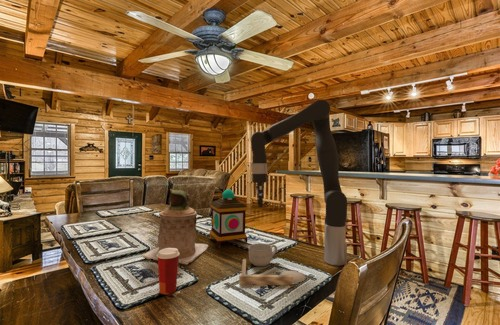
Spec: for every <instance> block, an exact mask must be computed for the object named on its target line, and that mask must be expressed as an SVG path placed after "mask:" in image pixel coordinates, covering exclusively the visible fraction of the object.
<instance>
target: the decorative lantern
mask: <svg viewBox="0 0 500 325" xmlns="http://www.w3.org/2000/svg"><path fill="white" fill-rule="evenodd" d="M209 205H210V208H211V220H210V223H211V229H210V231H209V234H208V237H209V239H210V240H211V239H214V240H215V241H216V244H217V247H218V248H220V247H221V243H226V242H231V241H232V242H233V241H241V240H244V241H243V242H244V244H245V243H246V244H247V243H248V235H247V234H246V211H247V209H248V206H247V205H246V204H245V203H244V202H241V201H240V200H239V199H237V197H235V192H234V191H233V190H232V189H231V188H227V189H225V190H224V191H223V192H222V196H220V198H218V199H217V200H214V201H212V202H211V203H210V204H209Z"/></svg>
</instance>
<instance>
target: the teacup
mask: <svg viewBox="0 0 500 325" xmlns="http://www.w3.org/2000/svg"><path fill="white" fill-rule="evenodd" d="M247 247H248V259H249V262H250V263H251V264H252V265H253V266H255V267H265V266H268V265H269V264H270V263H271V262H272V259H273V256H274V255H275V254H276V253H277V252H278V247H277V245H275V244H268V243H262V242H261V243H253V244H250V245H248V246H247ZM273 248H274V249H273Z"/></svg>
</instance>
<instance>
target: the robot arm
mask: <svg viewBox="0 0 500 325" xmlns="http://www.w3.org/2000/svg"><path fill="white" fill-rule="evenodd" d="M330 112H331V104H330V102H328V101H327V100H325V99H316V100H314V101H313V102H312V103H310V104H309V105H308V106H307V107H305V108H304V109H302V110H300V111H299V112H297V113H296V112H295V114H293V115H291V116H288V117H286V118H285V119H283V120H280V121H278V122H276V123H274V124H272V125H270V126H269V127H268V128H267V129H265V130H263V131H255V132H253V133H252V135H251V137H250V146H251V147H250V148H251V151H252V153H251V154H252V165H251V174H252V175H251V176H252V177H251V182H252V183H255V184H256V185H255V193H256V198H257V200H256V201H257V202H256V203H257V207H258V208H263V207H264V198H265V197H264V195H265V186H264V185H263V184H264V183H268V164H267V163H268V162H267V161H268V160H267V158H268V157H267V151H266V146H267V145H269V144H271V143H272V142H274V141H276V140H277V139H280V138H282V137H284V136H286V135H288V134H291V133H292V132H294V131H295V130H297V129H298V128H300V127H302V126H303V125H306V124H308V123H310V122H312V126H313V128H314V136H315V139H314V140H315V149H316V150H315V151H316V157H317V164H318V166H319V171H320V174H321V178H322V182H323V200H324V203H325V217H324V235H323V236H324V237H323V238H324V239H323V240H324V242H323V243H324V245H323V247H324V248H323V250H324V251H323V252H324V253H323V261H324V263H326V264H329V265H331V266H343V265H347V264H346V263H348V243H347V242H346V233H347V231H346V229H347V228H346V225H347V218H348V197H347V195H346V194H345V193H344V192H342V188H341V184H340V178H339V169H340V167H339V165H340V164H339V155H338V150H337V149H338V148H337V145H336V141H335V139H334V136H333V133H332V131H331V123H330Z"/></svg>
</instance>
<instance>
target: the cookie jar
mask: <svg viewBox="0 0 500 325" xmlns="http://www.w3.org/2000/svg"><path fill="white" fill-rule="evenodd" d="M169 191H170V194H169V196H170V197H169V201H170V206H168V207H167V208H165V210H162V211H159V217H160V224H159V228H158V229H159V230H158V236H157V243H158V244H157V245H158V247H156V248H154V249H151V250H149V251H147V252H145V253H142V255H141V257H142V258H143V259H144V258H146V259H145V260H151V259H153V260H152V261H158V257H157V256H156V255H157V254H158V252H159V251H160V250H161V249H165V248H176V249H178V251H179V253H180V254H179V259H178V264H182V265H189V263H193V262H194V261H195V259H197V258H198V257H199V256H200V255H202V254H203V253H204V252H205V251H207V250H208V248H209V244H207V243H197V242H196V241H197V236H198V231H197V221H198V219H197V215H198V213H197V211H196V210H195V209H194V208H193V207H190V206H189V203H188V202H190V201H191V200H192V198H191V195H190V194H189V193H187V192H186V191H185V190H183V189H182V190H180V189H177V190H174V189H172V188H170V189H169Z"/></svg>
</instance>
